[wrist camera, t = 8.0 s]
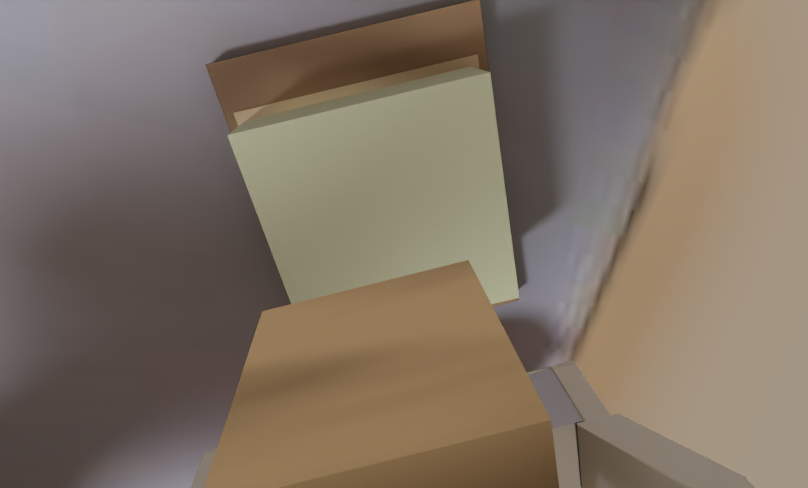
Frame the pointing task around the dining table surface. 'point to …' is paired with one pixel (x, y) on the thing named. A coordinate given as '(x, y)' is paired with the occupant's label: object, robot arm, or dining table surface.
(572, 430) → the robot arm
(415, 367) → the oak cube
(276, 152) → the plinth block
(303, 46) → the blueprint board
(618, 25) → the dining table surface
